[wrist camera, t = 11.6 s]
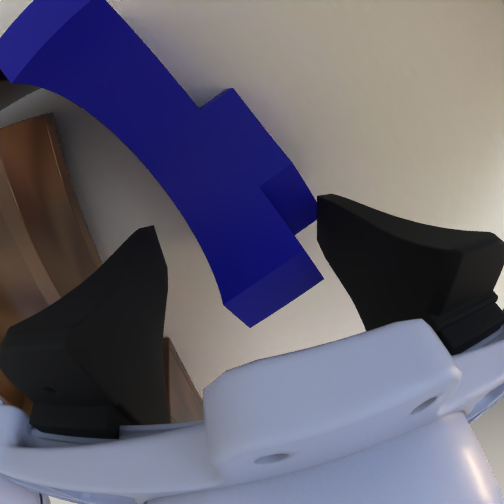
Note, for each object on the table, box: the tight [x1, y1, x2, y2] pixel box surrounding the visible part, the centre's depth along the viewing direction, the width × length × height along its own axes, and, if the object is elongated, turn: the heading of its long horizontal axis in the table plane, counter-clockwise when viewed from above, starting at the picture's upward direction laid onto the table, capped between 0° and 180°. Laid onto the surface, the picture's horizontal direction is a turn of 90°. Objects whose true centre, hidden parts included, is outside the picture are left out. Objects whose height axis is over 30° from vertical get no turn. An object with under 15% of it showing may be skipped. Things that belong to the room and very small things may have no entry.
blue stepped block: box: [0, 0, 324, 328], centre depth 9 cm, size 12×4×6 cm, turn 34°
